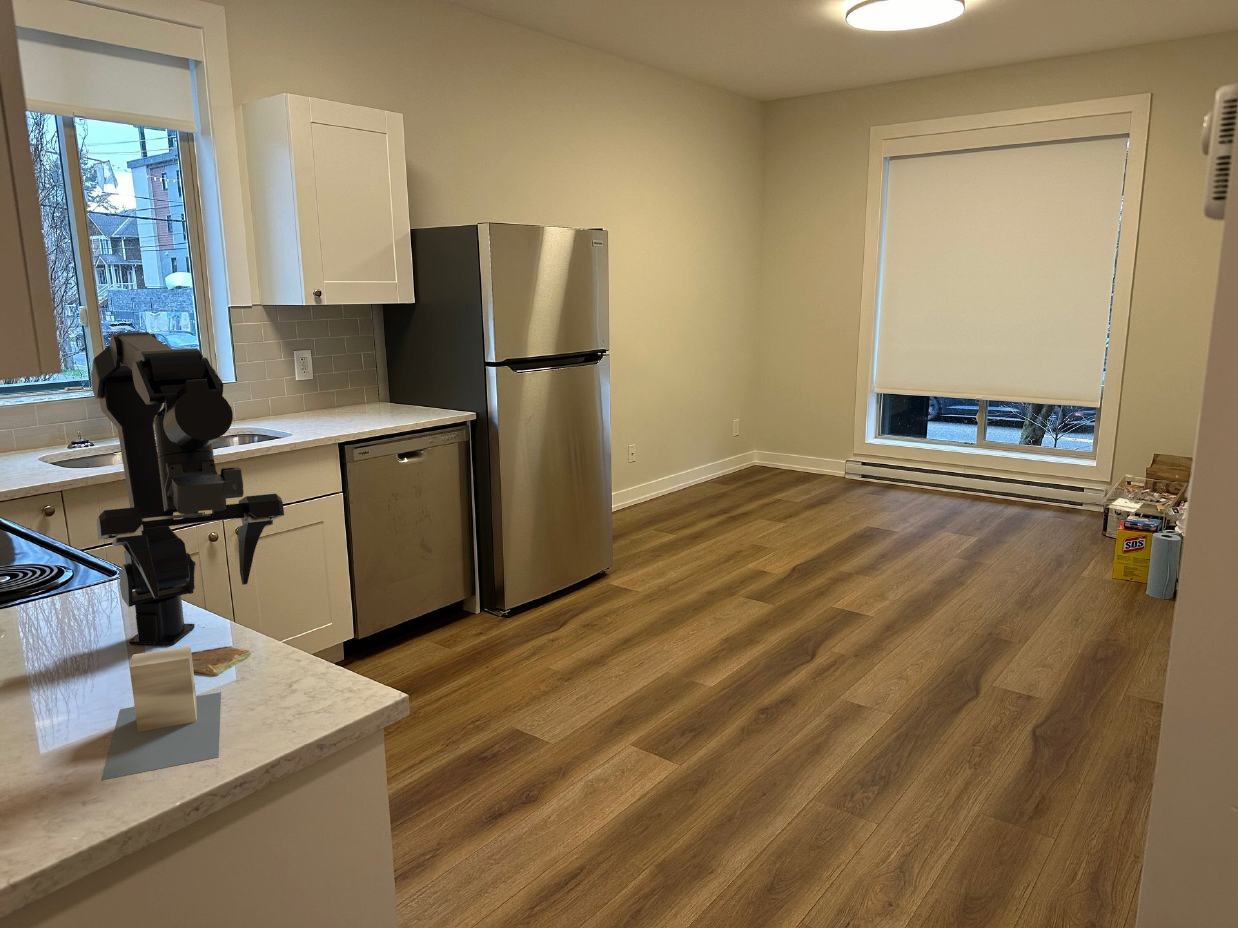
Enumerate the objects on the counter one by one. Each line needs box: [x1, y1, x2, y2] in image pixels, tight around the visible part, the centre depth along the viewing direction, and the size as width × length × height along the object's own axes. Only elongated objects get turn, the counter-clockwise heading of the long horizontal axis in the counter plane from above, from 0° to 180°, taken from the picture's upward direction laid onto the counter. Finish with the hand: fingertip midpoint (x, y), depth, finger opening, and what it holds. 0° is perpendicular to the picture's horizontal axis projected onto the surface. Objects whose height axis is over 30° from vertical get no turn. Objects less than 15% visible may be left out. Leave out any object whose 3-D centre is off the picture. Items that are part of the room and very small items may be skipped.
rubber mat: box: [101, 691, 222, 781], centre depth 98 cm, size 16×11×1 cm
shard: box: [191, 645, 252, 677], centre depth 116 cm, size 11×8×2 cm
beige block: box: [129, 645, 197, 732], centre depth 100 cm, size 4×6×8 cm, turn 113°
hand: (201, 591), depth 98 cm, fingers open, 9 cm apart
